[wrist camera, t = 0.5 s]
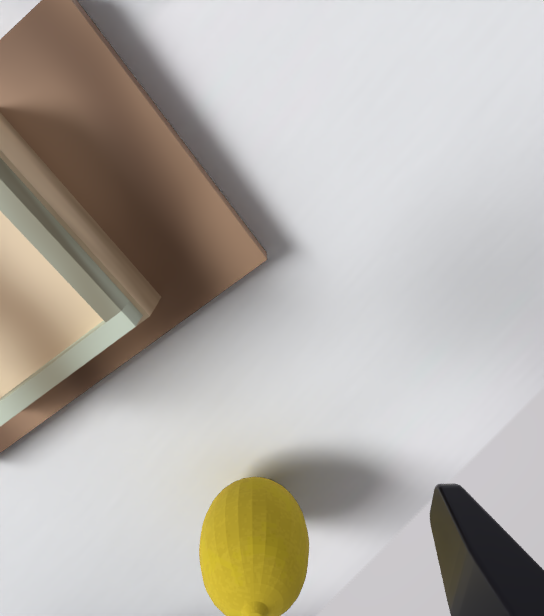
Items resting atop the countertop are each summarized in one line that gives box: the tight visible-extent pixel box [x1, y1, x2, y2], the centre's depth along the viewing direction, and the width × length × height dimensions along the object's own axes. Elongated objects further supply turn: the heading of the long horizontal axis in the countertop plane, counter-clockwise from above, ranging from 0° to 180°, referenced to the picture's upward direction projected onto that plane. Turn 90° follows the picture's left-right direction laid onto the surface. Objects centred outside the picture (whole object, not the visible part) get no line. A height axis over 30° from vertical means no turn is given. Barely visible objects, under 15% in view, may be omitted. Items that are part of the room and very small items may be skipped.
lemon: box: [199, 477, 309, 616], centre depth 23 cm, size 6×6×8 cm
